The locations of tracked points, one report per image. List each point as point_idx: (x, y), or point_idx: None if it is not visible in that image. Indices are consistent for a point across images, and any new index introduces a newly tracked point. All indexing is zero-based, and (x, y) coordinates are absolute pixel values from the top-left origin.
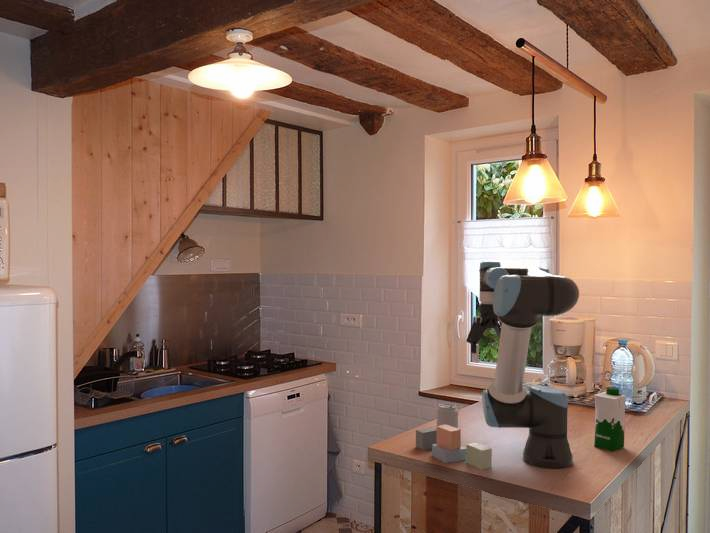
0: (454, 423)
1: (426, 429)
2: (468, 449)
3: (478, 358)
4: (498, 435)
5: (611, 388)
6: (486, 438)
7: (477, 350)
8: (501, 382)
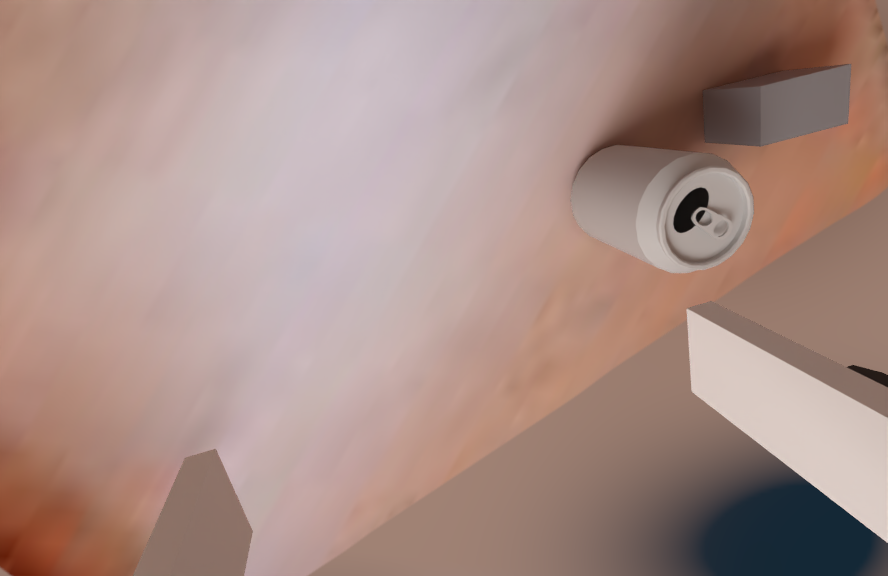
0: (648, 152)
1: (806, 112)
2: None
3: (728, 326)
4: (361, 166)
5: None
6: (444, 139)
7: (855, 375)
8: None
